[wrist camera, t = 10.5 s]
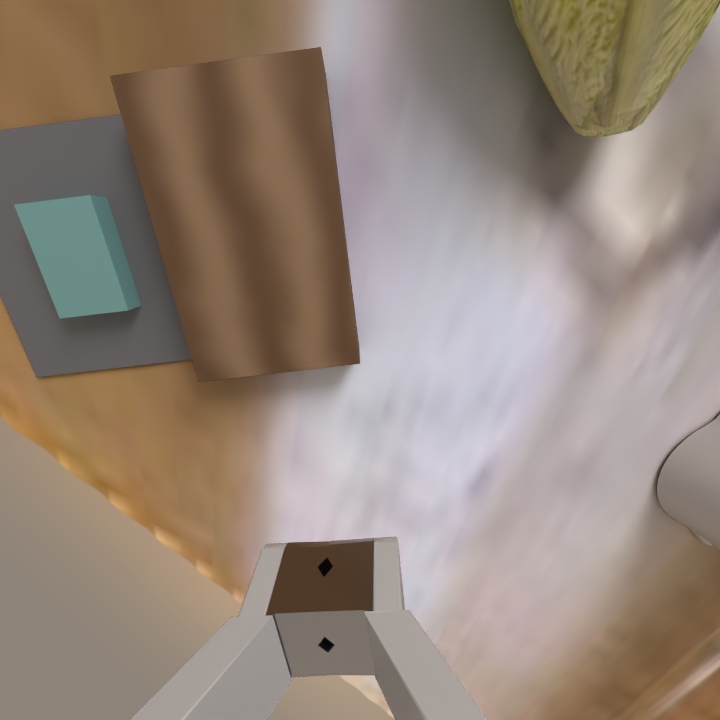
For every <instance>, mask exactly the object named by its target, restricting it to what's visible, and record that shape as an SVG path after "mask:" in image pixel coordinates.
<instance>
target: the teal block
mask: <svg viewBox="0 0 720 720" xmlns="http://www.w3.org/2000/svg"><path fill="white" fill-rule="evenodd" d="M14 206H15V209H16V211H17V214H18V216H19V219H20V221H21V224H22V226H23V229H24V231H25V234H26V236H27V239H28V241H29V244H30V246H31V248H32V251H33V253H34V256H35V258H36V261H37V263H38V266H39V268H40V271H41V273H42V276H43V278H44V281H45V283H46V286H47V288H48V291H49V293H50V296H51V298H52V301H53V303H54V306H55V308H56V311H57V313H58V316H59V318H60V319H61V318H69V317H77V316H86V315H94V314H103V313H111V312H120V311H128V310H131V309H134V308H137V307H140V306H141V303H140V300H139V296H138V293H137V290H136V287H135V284H134V281H133V278H132V275H131V271H130V268H129V265H128V262H127V259H126V256H125V253H124V249H123V246H122V243H121V240H120V237H119V234H118V231H117V228H116V224H115V221H114V218H113V215H112V212H111V209H110V206H109V203H108V199H107V197H101V196H93V195H86V196H78V197H70V198H63V199H55V200H47V201H39V202H31V203H23V204H15V205H14Z"/></svg>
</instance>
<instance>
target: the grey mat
mask: <svg viewBox="0 0 720 720" xmlns="http://www.w3.org/2000/svg"><path fill="white" fill-rule="evenodd" d="M86 195H93V196H101V197H107V199H108V203H109V206H110V209H111V212H112V215H113V218H114V221H115V224H116V228H117V231H118V234H119V237H120V240H121V243H122V246H123V249H124V253H125V256H126V259H127V262H128V265H129V268H130V271H131V275H132V278H133V281H134V284H135V287H136V290H137V293H138V296H139V300H140V303H141V306H140V307H137V308H134V309H131V310H128V311H120V312H111V313H103V314H94V315H86V316H77V317H69V318H61V319H60V318H59V316H58V313H57V311H56V308H55V306H54V303H53V301H52V298H51V296H50V293H49V291H48V288H47V286H46V283H45V281H44V278H43V276H42V273H41V271H40V268H39V266H38V263H37V261H36V258H35V256H34V253H33V251H32V248H31V246H30V244H29V241H28V239H27V236H26V234H25V231H24V229H23V226H22V224H21V221H20V219H19V216H18V214H17V211H16V209H15V206H14V205H15V204H23V203H31V202H39V201H47V200H55V199H63V198H70V197H78V196H86ZM0 296H1V298H2V300H3V302H4V305H5V307H6V309H7V311H8V314H9V316H10V318H11V320H12V323H13V325H14V327H15V329H16V331H17V334H18V336H19V338H20V340H21V343H22V345H23V347H24V349H25V352H26V354H27V356H28V358H29V360H30V363H31V365H32V367H33V369H34V372H35V374H36V376H37V377H44V376H52V375H61V374H70V373H78V372H87V371H95V370H104V369H113V368H121V367H130V366H139V365H147V364H156V363H165V362H173V361H182V360H190V359H192V358H191V355H190V352H189V348H188V345H187V341H186V338H185V334H184V331H183V327H182V324H181V320H180V317H179V313H178V310H177V306H176V303H175V300H174V296H173V293H172V289H171V286H170V282H169V279H168V275H167V272H166V268H165V265H164V261H163V258H162V254H161V251H160V248H159V244H158V241H157V237H156V234H155V230H154V227H153V223H152V220H151V216H150V213H149V209H148V206H147V203H146V199H145V196H144V192H143V189H142V185H141V182H140V178H139V175H138V171H137V168H136V164H135V161H134V157H133V154H132V151H131V147H130V144H129V140H128V137H127V133H126V130H125V126H124V123H123V119H122V116H121V115H113V116H106V117H98V118H91V119H83V120H76V121H68V122H61V123H53V124H46V125H38V126H31V127H23V128H16V129H8V130H1V131H0Z"/></svg>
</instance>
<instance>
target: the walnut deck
mask: <svg viewBox="0 0 720 720" xmlns="http://www.w3.org/2000/svg"><path fill="white" fill-rule="evenodd" d="M110 78H111V81H112V85H113V88H114V92H115V95H116V99H117V102H118V105H119V109H120V112H121V116H122V119H123V123H124V126H125V130H126V133H127V137H128V140H129V144H130V147H131V151H132V154H133V157H134V161H135V164H136V168H137V171H138V175H139V178H140V182H141V185H142V189H143V192H144V196H145V199H146V203H147V206H148V209H149V213H150V216H151V220H152V223H153V227H154V230H155V234H156V237H157V241H158V244H159V248H160V251H161V254H162V258H163V261H164V265H165V268H166V272H167V275H168V279H169V282H170V286H171V289H172V293H173V296H174V300H175V303H176V306H177V310H178V313H179V317H180V320H181V324H182V327H183V331H184V334H185V338H186V341H187V345H188V348H189V352H190V355H191V358H192V362H193V365H194V369H195V372H196V376H197V379H198V382H203V381H212V380H221V379H229V378H238V377H247V376H256V375H264V374H273V373H282V372H291V371H299V370H308V369H317V368H326V367H334V366H343V365H352V364H360V354H359V343H358V334H357V326H356V318H355V310H354V302H353V294H352V285H351V277H350V269H349V261H348V253H347V245H346V237H345V228H344V220H343V212H342V204H341V196H340V188H339V179H338V171H337V163H336V155H335V147H334V139H333V131H332V122H331V114H330V106H329V98H328V90H327V82H326V73H325V68H324V62H323V57H322V51H321V47H319V48H311V49H304V50H297V51H289V52H282V53H275V54H267V55H260V56H253V57H245V58H238V59H231V60H223V61H216V62H208V63H201V64H194V65H186V66H179V67H172V68H164V69H157V70H150V71H142V72H135V73H128V74H120V75H113V76H110Z"/></svg>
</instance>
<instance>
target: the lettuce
mask: <svg viewBox="0 0 720 720" xmlns="http://www.w3.org/2000/svg"><path fill="white" fill-rule="evenodd" d="M509 2H510V5H511V9H512V13H513V16H514V20H515V22H516V25H517V27H518V29H519V31H520V33H521V36H522V38H523V40H524V42H525V44H526V46H527V49H528V51H529V53H530V55H531V57H532V59H533V62H534V64H535V66H536V68H537V70H538V72H539V74H540V76H541V78H542V80H543V82H544V84H545V85H546V87H547V89H548V91H549V93H550V95H551V97H552V99H553V101H554V102H555V104H556V105H557V107H558V108H559V110H560V111H561V113H562V114H563V116H564V117H565V119H566V120H567V122H568V123H569V124H570V126H571V127H572V128H573V130H574V131H575V132H576V133H578V134H579V135H582V136H610V135H614V134H619V133H623V132H627V131H630V130H633V129H634V128H636V127H638V126H639V125H641V124H642V123H643V122H644V120H645V119H646V118H647V116H648V115H649V114H650V112H651V111H652V110H653V108H654V107H655V106H656V104H657V103H658V102H659V100H660V99H661V98H662V96H663V95H664V93H665V92H666V90H667V89H668V87H669V86H670V84H671V83H672V81H673V80H674V78H675V77H676V75H677V74H678V72H679V71H680V69H681V68H682V66H683V64H684V63H685V61H686V59H687V58H688V56H689V55H690V53H691V51H692V50H693V48H694V46H695V45H696V43H697V42H698V40H699V38H700V37H701V35H702V33H703V32H704V30H705V29H706V27H707V25H708V24H709V22H710V20H711V18H712V16H713V15H714V13H715V11H716V9H717V8H718V6H719V4H720V0H509Z"/></svg>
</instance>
